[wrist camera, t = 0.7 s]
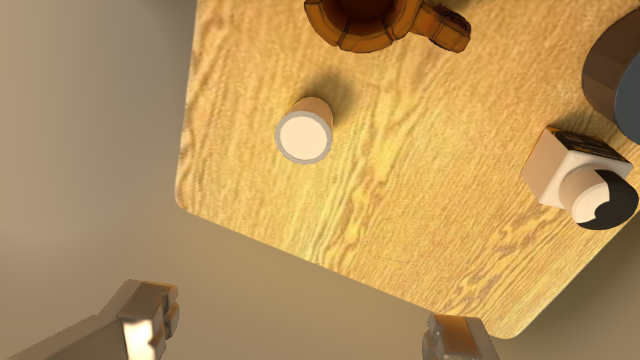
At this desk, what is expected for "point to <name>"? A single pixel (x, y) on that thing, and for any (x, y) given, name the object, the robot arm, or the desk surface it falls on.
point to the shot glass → (305, 131)
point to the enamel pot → (610, 62)
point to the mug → (385, 23)
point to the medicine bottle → (581, 179)
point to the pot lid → (628, 99)
